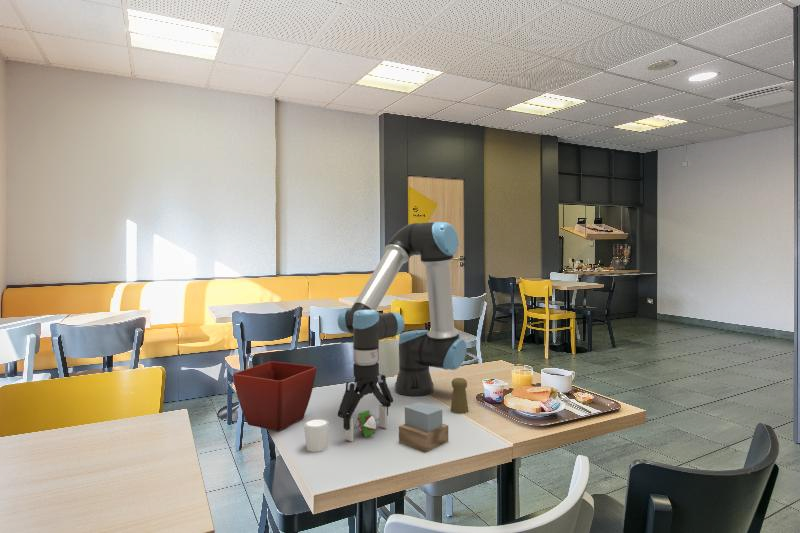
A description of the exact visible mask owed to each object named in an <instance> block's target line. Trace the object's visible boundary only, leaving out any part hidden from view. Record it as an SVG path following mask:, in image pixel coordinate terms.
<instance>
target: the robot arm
mask: <svg viewBox="0 0 800 533" xmlns="http://www.w3.org/2000/svg"><path fill="white" fill-rule="evenodd" d="M459 242H460V241H459V236H458V232H457V230H456V229H455V227H454V226H453V225H452V224H451V223H449V222H445V221H432V222H420V223H419V222H414V223H410V224H409V223H408V224H406V225H405V226H403V227H402V228H400V230H398V231H397V232H396V233H395V234H394V235H393V236H391V238H390V239H389V241H388V242H387V244H386V245H385V247H384V255H383V256H382V257H381V259H380V260H379V262H378V264H377V265H376V267H375V269H374V270H373V272H372V274H371V275H370V277H369V279H368V281H367V282H366V284H364V287H363V289H362V290H361V292H360V293H359V295H358V297H357V298H356V300H355V302H354V303H353V305H352V306H351V308H350V309H344V310H342V311H340V313H339V315H338V317H337V326H338V328H339V329H340V331H342V332H344V333H348V334H351V335H352V336H353V337H352V340H353V346H352V348H353V349H352V350H353V351H352V353H353V355H352V356H353V359H352V360H353V361H352V362H354V363H353V376H354V382H349V381H347V382H346V384H345V391H344V394H343V396H342V400H341V403H340V405H339V409H338V411H337V415H336V416H337V417H339V418H342V419H343V425H342V426H343V429H344V435H345V437H344V439H345V440H346V441H349V442H354V418H353V417H352V416H353V414H354V412H355V410H356V409H357V407H358V405H359V403H360V400H361V399H363V398H364V396H367V395H369V394H373V396H374V397H375V398H376V399H377V401H378V402H379V404H380V405H378V419H380V420H378V421H379V422H378V427H380V428H383V429H387V428H388V416H389V407H391V405H392V403H393V402H394V398H393V395H392V392H391V391H390V389H389V386H388V383H387V378H386V375H384V374H380V364H379V359H380V356H379V355H380V354H379V350H380V347H379V346H380V344H379V341H380V340H383V339H387V338H394V337H396V336H398V335H399V336H398V339H399V340H398V368H399V369H398V373H397V376H396V381H395V383H394V391H395V393H397V394H400V395H403V396H410V397H413V396H414V397H415V396H417V397H418V396H425V395H429V394H432V393H434V390H435V388H434V386H435V384H434V382H433V380H432V375H431V372H430V367H432V368H437V369H443V370H445V371H446V370H449V371H451V370H452V371H455V370H458V369H459V368H460V367H461V366H462V365H463V363H464V361H465V359H466V354H467V343H466V341H465V339H464V338H462V337H460V332H459V330H458V329H457V328H456V327H455V322H454V321H455V320H454V317H455V316H454V308H453V305H454V304H453V293H452V281H451V280H452V279H451V267H450V263H452V261H453V260H454V255H456V253H457V252H458V250H459V249H458V247H459V245H460V243H459ZM413 256H420V262H421V263H422V264H423V265H424V266H425V275H426V277H425V278H426V287H427V297H428V298H427V299H428V300H427V301H428V310H429V322H430V330H428V329H417V330H409V331H404V329H405V320H404V317H403V316H402V315H401V314H400V313H399V312H394V311H393V312H392V311H388V312H387V313H386V312H378V311H377V309H378V307H379V305H380V304H381V302H382V300H383V299H384V297H385V296H386V294H387V292H388V291H389V289H390V287H391V285H392V283H393V282H394V280H395V278H396V277H397V275H398V273H399V271H400V270H401V268H402V266H403V265H404V264H406V263H408V262H409V259H410V258H412V257H413Z"/></svg>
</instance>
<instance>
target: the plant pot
mask: <svg viewBox="0 0 800 533" xmlns="http://www.w3.org/2000/svg"><path fill="white" fill-rule="evenodd" d="M316 374H317V366H313V365H305V364H296V363H289V362H281V361H268V362H265V363H262V364H258V365H256V366H251V367H248V368H245V369H243V370H240V371H235V372H234V373H232V378H233V384H234V387H235V388H234V389H235V393H236V397H237V400H238V403H239V406H240V408H241V412H242V414H243V416H244V420H245V421H246V423H247V425H248V426H251V427H257V428H260V429H261V428H262V429H265V430H266V429H267V430H271V431H277V432H279V431H283V430H284V429H286V428H288V427H290V426H292V425H293V424H296V423H298V422H300V421H301V420H303V419H304V417H305V414H306V412H307V409H308V406H309V402H310V399H311V396H312V392H313V389H314V384H315V380H316Z"/></svg>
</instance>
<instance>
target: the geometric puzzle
mask: <svg viewBox="0 0 800 533" xmlns="http://www.w3.org/2000/svg"><path fill="white" fill-rule="evenodd" d="M374 417H375V414H373V413H372V412H371V411H370V410H366V411H363V412H360V413H358V416H357V418H356V419H357V420H356V421H357V422H358V423H359V425H358V426H356V424H357V423H354V425H353V429H356V430H357V431H358V432H360V433H361V435H363V437H364V438H366V437H369V436H370V435H373V434H375V433H376V431H377V427H378V426H379V420H380V419H379V418H377V419H375V418H374ZM376 421H378V422H377V423H378V424H376ZM358 428H360V429H358Z"/></svg>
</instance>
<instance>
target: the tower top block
mask: <svg viewBox="0 0 800 533" xmlns="http://www.w3.org/2000/svg"><path fill="white" fill-rule="evenodd" d="M442 423H443V409H442V408H440V407H437V406H433V405H429V404H427V403H424V402H420V401H418V402H416V403H413V404H412V403H411V404H409V405H407V406H404V424H406V425H409V426H411V427H414V428H417V429H420V430H422V431H425V432H431V431H433V430H436V429H438V428H441V427H442Z"/></svg>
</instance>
